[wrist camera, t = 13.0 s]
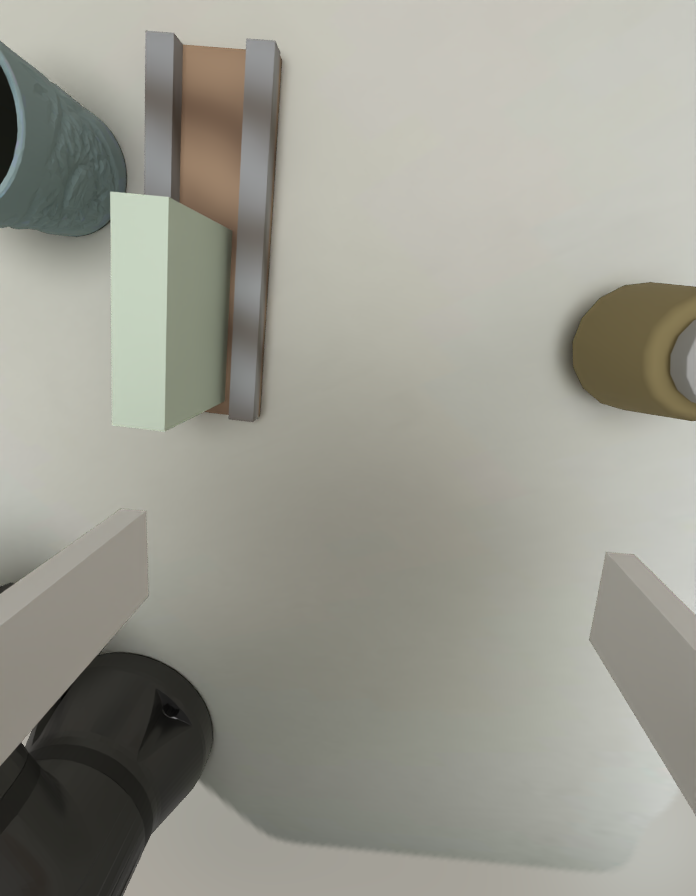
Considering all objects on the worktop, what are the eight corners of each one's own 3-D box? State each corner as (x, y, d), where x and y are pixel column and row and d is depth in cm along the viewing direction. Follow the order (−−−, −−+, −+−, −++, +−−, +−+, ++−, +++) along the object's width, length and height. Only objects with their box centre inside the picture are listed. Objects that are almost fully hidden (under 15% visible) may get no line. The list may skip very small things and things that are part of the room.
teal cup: (154, 226, 39) (53, 188, 27) (30, 265, 40) (-117, 245, 29) (105, 72, 37) (-28, -40, 25) (-24, 119, 38) (-207, 34, 27)
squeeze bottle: (543, 306, 38) (670, 299, 21) (662, 269, 37) (904, 227, 19) (569, 415, 40) (707, 493, 22) (683, 382, 38) (925, 437, 21)
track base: (261, 415, 42) (252, 422, 39) (157, 403, 42) (142, 409, 40) (283, 59, 36) (275, 40, 33) (162, 49, 36) (145, 30, 34)
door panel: (224, 401, 40) (164, 431, 30) (181, 396, 41) (106, 424, 30) (232, 230, 38) (168, 197, 27) (185, 226, 38) (104, 190, 27)
